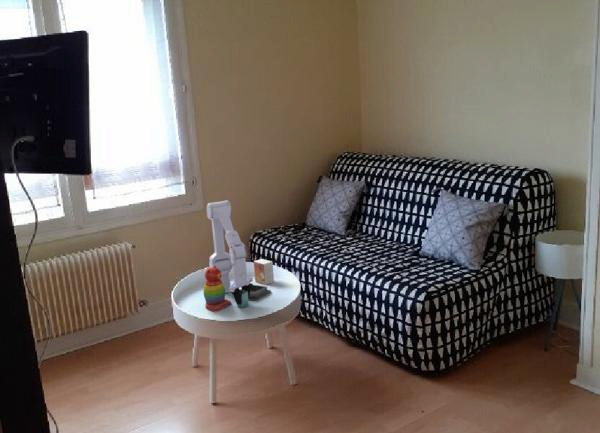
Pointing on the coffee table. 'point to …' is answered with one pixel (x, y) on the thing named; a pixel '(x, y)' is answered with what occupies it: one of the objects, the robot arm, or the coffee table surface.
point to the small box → (263, 271)
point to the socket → (258, 292)
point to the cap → (244, 299)
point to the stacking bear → (214, 290)
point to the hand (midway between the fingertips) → (242, 302)
